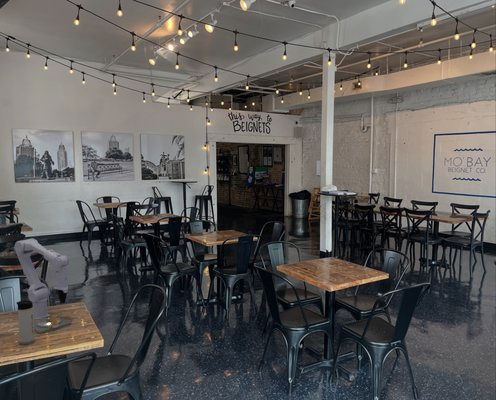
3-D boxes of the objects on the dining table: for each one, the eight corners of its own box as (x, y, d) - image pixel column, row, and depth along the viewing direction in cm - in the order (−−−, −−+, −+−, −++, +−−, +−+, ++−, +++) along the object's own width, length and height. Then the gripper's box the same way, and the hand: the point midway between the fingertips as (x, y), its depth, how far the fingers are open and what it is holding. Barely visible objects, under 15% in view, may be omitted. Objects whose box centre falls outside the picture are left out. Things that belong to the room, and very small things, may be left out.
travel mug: (16, 342, 186) (14, 301, 184) (31, 338, 191) (29, 297, 189) (21, 346, 182) (19, 304, 180) (36, 341, 186) (34, 300, 185)
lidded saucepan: (34, 323, 206) (33, 313, 205) (55, 317, 214) (55, 308, 213) (44, 330, 196) (43, 320, 196) (66, 324, 204) (66, 314, 204)
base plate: (26, 326, 205) (26, 320, 205) (58, 317, 217) (57, 312, 217) (39, 334, 195) (39, 328, 194) (71, 324, 207) (71, 319, 207)
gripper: (49, 277, 215) (50, 301, 216) (57, 282, 204) (58, 308, 205) (63, 274, 220) (64, 298, 221) (71, 279, 209) (72, 304, 210)
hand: (62, 302), depth 213 cm, fingers closed
